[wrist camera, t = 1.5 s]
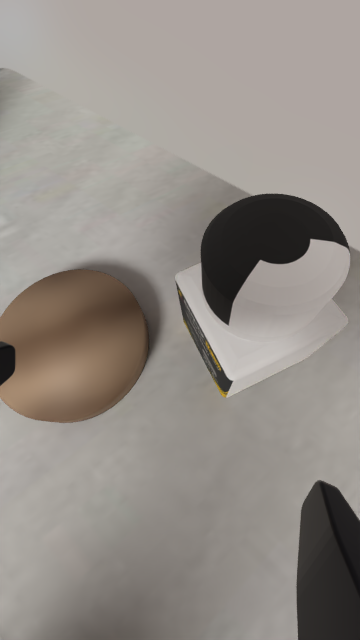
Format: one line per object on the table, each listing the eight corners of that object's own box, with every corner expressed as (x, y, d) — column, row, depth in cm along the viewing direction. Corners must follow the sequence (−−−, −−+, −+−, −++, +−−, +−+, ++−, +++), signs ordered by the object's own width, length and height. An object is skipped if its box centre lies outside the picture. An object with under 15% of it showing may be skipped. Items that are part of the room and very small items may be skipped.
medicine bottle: (182, 319, 23) (159, 211, 12) (258, 284, 24) (302, 150, 13) (223, 400, 20) (242, 355, 9) (308, 357, 21) (420, 269, 10)
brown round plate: (174, 374, 21) (171, 368, 20) (26, 454, 20) (8, 455, 18) (116, 260, 26) (108, 247, 24) (-8, 320, 25) (-25, 310, 23)
